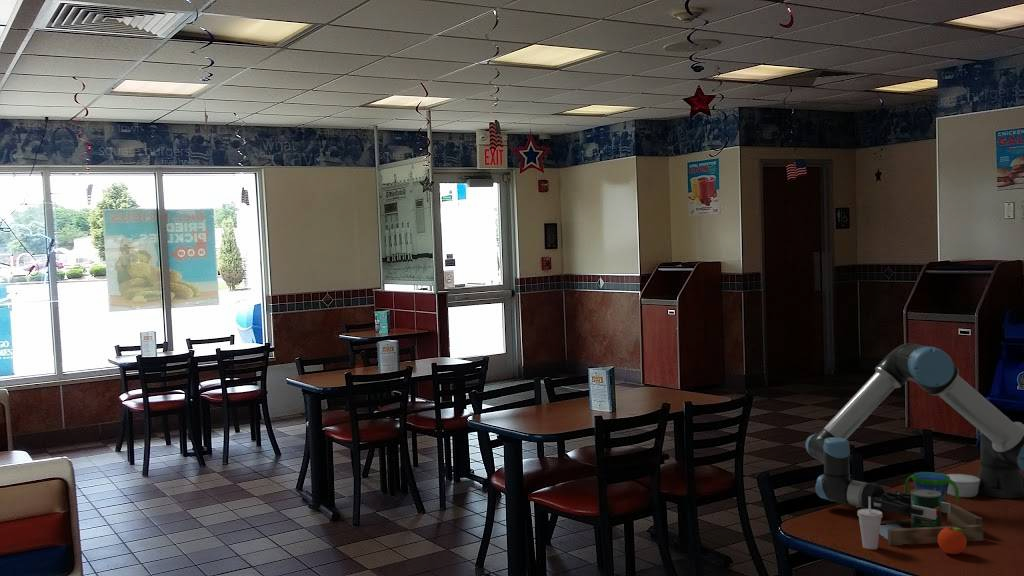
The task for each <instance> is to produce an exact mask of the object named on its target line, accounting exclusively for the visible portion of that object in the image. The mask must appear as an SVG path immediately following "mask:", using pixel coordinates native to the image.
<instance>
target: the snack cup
mask: <svg viewBox="0 0 1024 576" xmlns="http://www.w3.org/2000/svg"><path fill="white" fill-rule="evenodd" d="M905 479H906V480H905V482H904V487H903V488H904V493H908V494H910V490H909V482H910V480H911V479H912V480H913V483H914V489H929V490H935V491H938V492H940V493H941V502H945V503H947V496H948V494H947V491H948V486H949V483H950V484H951V485H953V486H954V489H955V496H954V502H956V503H957V502H958V500H959V498H960V497H959V490H958V487H957V485H956V484H955V482H954V481H952V480H951V479H950V477H949V476H947V474H945V473H941V472H940V473H939V472H932V471H921V472H915V473H913V474H912V475H910V476H908V477H907V478H905Z"/></svg>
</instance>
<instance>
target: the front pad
mask: <svg viewBox="0 0 1024 576" xmlns="http://www.w3.org/2000/svg"><path fill="white" fill-rule="evenodd" d="M902 528H904V527H903V526H900V524H886V525H880V532H879V534H880V535H879V536H880V537H882V536H883V537H882V538H884V539H885V540H887V541H888V529H902Z"/></svg>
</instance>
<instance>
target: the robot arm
mask: <svg viewBox="0 0 1024 576" xmlns="http://www.w3.org/2000/svg"><path fill="white" fill-rule="evenodd" d="M874 369H875V372H874V374H873V375H872V376H870V378H869V379H868V380H867V381H866V382H865V383H864V384H863V385H862V386H861V388H860V389H858V390H857V391H856V393H855V394H854V395H853V396H852V397H851V398H850V399H849V401H847V403H846V404H845V405H843V407H842V408H841V409H840V410H839V411H838V412H837V413H836V414H835V416H833V417H832V418H831V420H829V422H828V423H827V424H826V425H825V426H824V427H823V428H822V429H821V430H820V431H819V433H814V434H811V435H810V436H808V437H807V438H806V441H805V450H806V452H807V453H808V454H809V455H810V457H812V458H814V459H815V460H818V461H819V462H821V463H822V464H823V474H821V475H819V476H818V477H817V478H816V484H815V493H816V495H817V496H818V497H819V498H821V499H823V500H826V501H827V500H828V501H829V502H835V503H839V504H846V505H850V506H855V508H856V509H859V508H864V509H869V498H868V497H871V509H874V510H878V511H880V510H883V511H885V512H888V513H889V512H890V513H893V514H896V515H900V516H906V517H907V518H911V514H912V515H916V516H920V517H925V518H929V519H934V520H936V509H931V508H926V507H921V506H917V505H912V507H911V493H905V492H901V491H898V490H897V491H896V490H895V491H894V492H893V491H887V492H885V490H884V488H883V486H881V485H880V484H874V483H868V482H865V481H860V480H853V479H850V478H851V477H850V474H851V472H850V471H851V470H850V465H851V464H850V463H851V462H850V461H851V450H850V442H849V440H848V438H849V437H850V436H851V435H852V434H853V433H855V431H856V430H857V429H858V428H859V427H860V425H862V424H863V422H865V420H867V419H868V417H869V416H870V415H871V414H872V413H873V412H874V411H875V410H876V409H877V408H878V407H879V406H880V405H881V404H882V403H883V402H884V401H885V400H886V398H887V397H888V396H890V394H891V393H892V392H893V391H894V390H895V389H900V388H901V387H902V386H903V385H904V384H905V383H907V382H908V381H910V382H911V381H912V382H913V383H916V385H918V386H919V387H920V388H921V389H922V390H923V391H925V392H926V393H927V394H928V395H930V396H938V397H940V399H942V400H943V401H944V402H945V403H947V404H948V405H949V406H950V407H951V408H953V410H955V411H956V413H958V414H959V415H961V417H962V418H964V419H965V420H967V422H969V423H970V425H972V426H974V427H975V428H976V429H977V430H978V431H979V432H980V433H979V437H980V439H979V440H980V441H979V442H980V467H979V471H978V473H977V476H976V477H977V478H979V479H980V484H979V489H978V494H981V495H984V496H987V497H992V498H1002V499H1021V498H1024V475H1023V473H1024V423H1022V422H1020V421H1012V420H1011V419H1010V418H1009V417H1008V416H1007V415H1006V414H1004V413H1003V412H1002V411H1001V410H1000V409H999V408H997V407H996V406H995V405H994V404H993V403H991V402H990V401H989V400H988V399H987V398H986V397H985V396H983V395H982V394H981V393H980V392H979V391H977V389H975V388H974V387H972V385H971V384H969V383H968V382H967V381H966V380H965V379H963V377H961V376H960V375H959V373H960V371H959V368H958V367H957V366H956V365H955V363H954V361H953V360H952V358H951V356H950V355H949V354H948V353H946V352H945V351H944V350H942V349H940V348H939V347H938V348H937V347H935V346H926V345H922V344H918V343H915V342H908V343H904V344H901V345H899V346H897V347H895V348H894V349H893V350H891V352H889V353H888V354H887V355H886V356H885V357H884V358H883V359H882V360H881V361H880V362H879V363H878V364H877V365H876V367H875V368H874ZM950 504H951V503H950V502H946V503H945V502H941V513H945V514H947V513H950Z"/></svg>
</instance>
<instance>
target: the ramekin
mask: <svg viewBox="0 0 1024 576" xmlns="http://www.w3.org/2000/svg"><path fill="white" fill-rule="evenodd" d="M946 475H947V476H949V477H950V479H951V480H952V481H954V482H955V484H956V485H957V487H958V490H959V498H974V497H976V496H977V495H978V494H979V493H978V489H979V484H980V479H979V478H977V476H976V475H970V474H963V473H962V474H961V473H949V474H946ZM949 494H950V495H949ZM947 495H949V496H952V497H955V489H954V486H953V485H951V484H950V483H949V486H948V491H947Z"/></svg>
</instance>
